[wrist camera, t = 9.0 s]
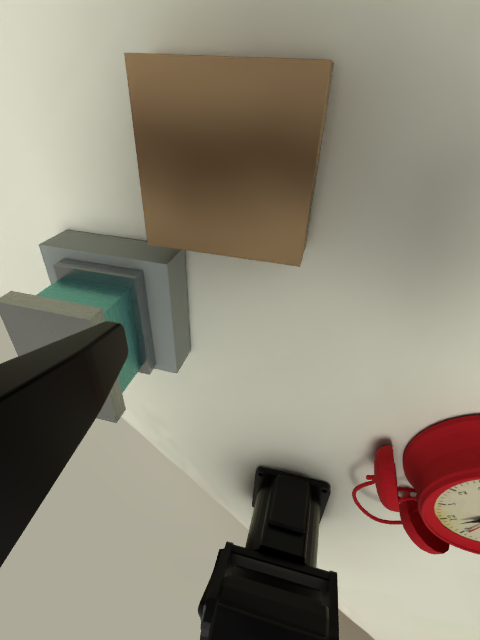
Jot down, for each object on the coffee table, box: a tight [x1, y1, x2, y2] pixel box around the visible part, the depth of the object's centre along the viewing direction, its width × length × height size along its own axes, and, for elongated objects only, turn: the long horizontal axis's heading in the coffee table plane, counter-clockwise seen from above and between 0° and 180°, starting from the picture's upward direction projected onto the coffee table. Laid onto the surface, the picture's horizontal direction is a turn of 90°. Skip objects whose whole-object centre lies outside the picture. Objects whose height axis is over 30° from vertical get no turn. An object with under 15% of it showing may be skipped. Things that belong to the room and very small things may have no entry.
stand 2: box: [124, 53, 334, 267], centre depth 16 cm, size 8×8×2 cm
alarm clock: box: [352, 415, 480, 554], centre depth 23 cm, size 10×6×15 cm
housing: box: [0, 258, 156, 423], centre depth 20 cm, size 5×7×5 cm
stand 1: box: [39, 230, 191, 373], centre depth 23 cm, size 8×8×2 cm
